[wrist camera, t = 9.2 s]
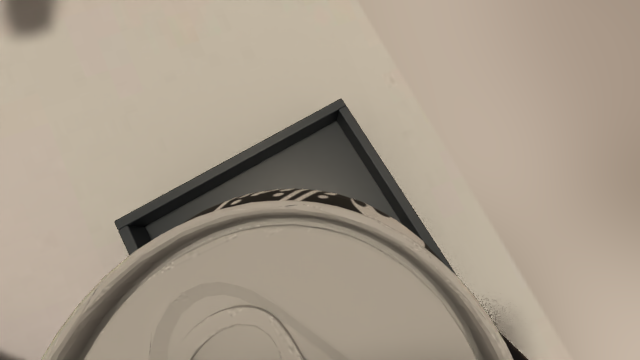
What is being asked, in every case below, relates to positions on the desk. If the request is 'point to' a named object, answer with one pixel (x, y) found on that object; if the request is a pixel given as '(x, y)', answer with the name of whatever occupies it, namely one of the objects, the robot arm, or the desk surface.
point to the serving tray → (286, 177)
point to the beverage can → (281, 291)
